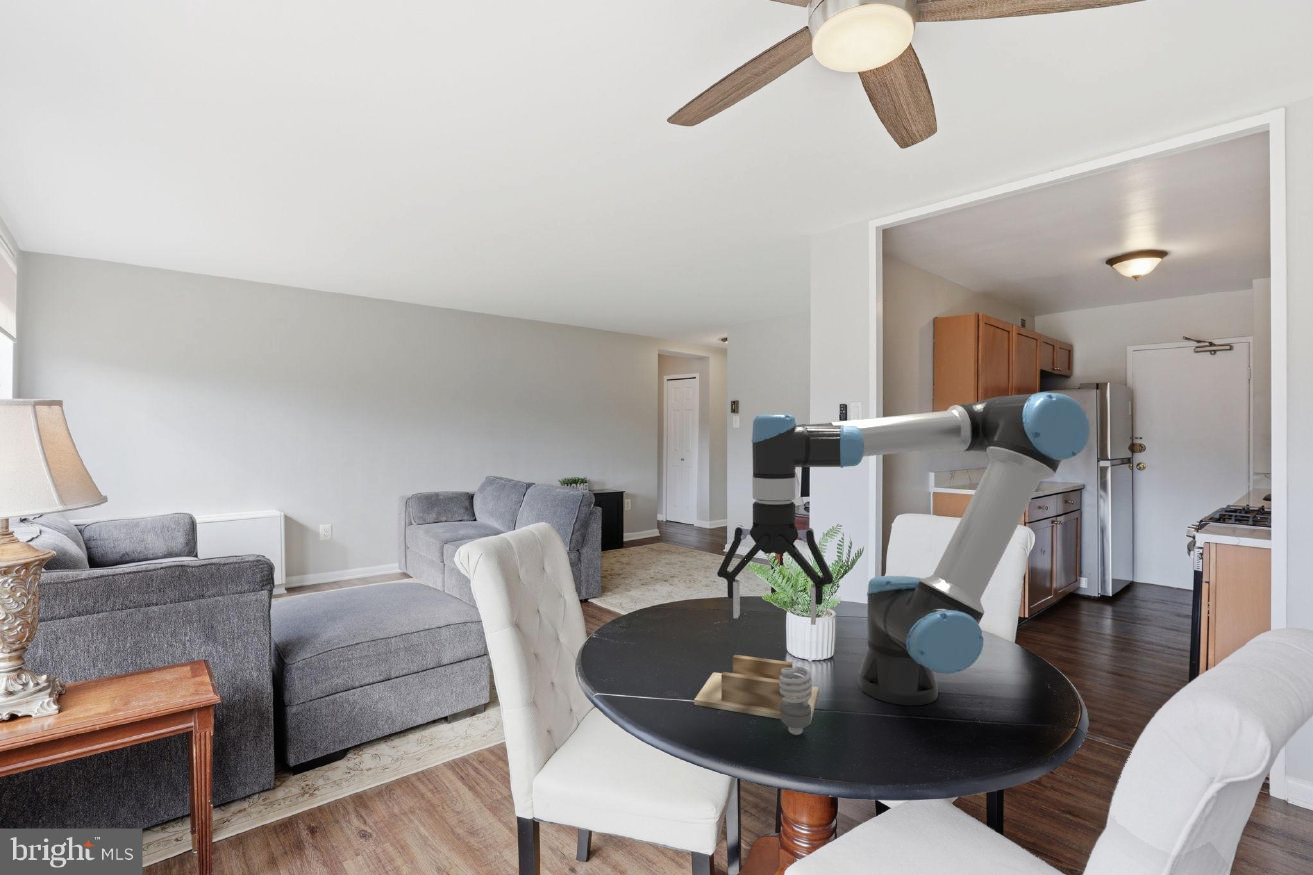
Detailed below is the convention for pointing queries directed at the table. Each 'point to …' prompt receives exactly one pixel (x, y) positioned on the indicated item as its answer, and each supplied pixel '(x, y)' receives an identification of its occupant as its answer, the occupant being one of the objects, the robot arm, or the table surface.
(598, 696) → the table surface
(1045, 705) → the table surface
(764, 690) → the u rest
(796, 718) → the light bulb
